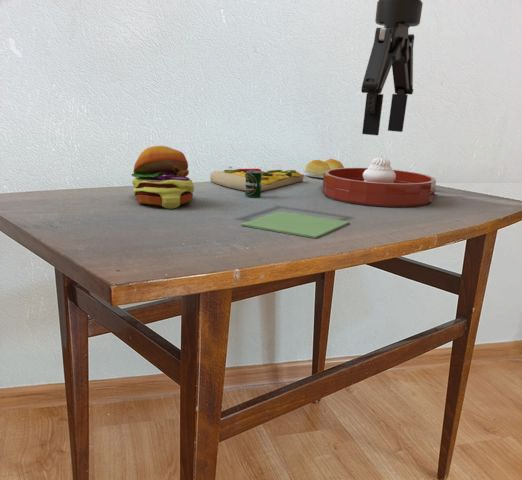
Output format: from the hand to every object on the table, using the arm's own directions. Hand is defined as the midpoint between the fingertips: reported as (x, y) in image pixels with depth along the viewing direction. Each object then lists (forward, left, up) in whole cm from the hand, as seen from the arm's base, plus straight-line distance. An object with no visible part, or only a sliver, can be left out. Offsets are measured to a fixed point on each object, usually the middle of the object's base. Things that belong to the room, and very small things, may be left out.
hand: (383, 133), depth 108 cm
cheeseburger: (+26, +32, -12) cm, 43 cm away
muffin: (0, 0, -11) cm, 11 cm away
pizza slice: (+23, +2, -12) cm, 26 cm away
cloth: (+1, +32, -12) cm, 34 cm away
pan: (0, 0, -12) cm, 12 cm away
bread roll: (+18, -16, -12) cm, 27 cm away
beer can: (+18, +16, -12) cm, 27 cm away
